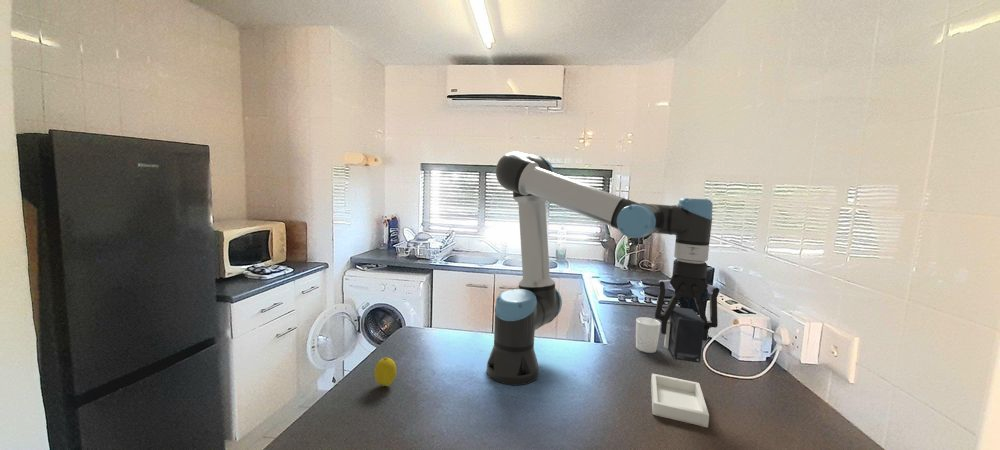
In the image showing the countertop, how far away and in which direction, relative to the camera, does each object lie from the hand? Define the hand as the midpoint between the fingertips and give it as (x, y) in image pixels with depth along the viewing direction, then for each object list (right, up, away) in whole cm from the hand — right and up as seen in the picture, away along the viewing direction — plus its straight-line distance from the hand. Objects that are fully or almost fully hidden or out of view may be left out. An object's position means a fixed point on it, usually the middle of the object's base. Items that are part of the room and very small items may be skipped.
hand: (682, 348), depth 94 cm
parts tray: (-1, -15, +2) cm, 15 cm away
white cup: (+4, -12, +35) cm, 37 cm away
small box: (0, -1, 0) cm, 1 cm away
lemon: (-77, -11, +3) cm, 78 cm away
